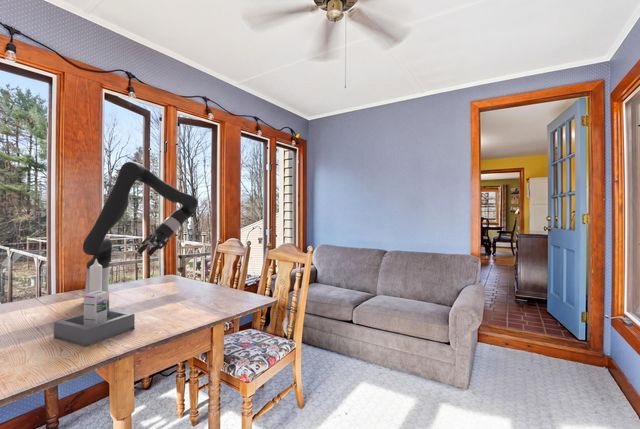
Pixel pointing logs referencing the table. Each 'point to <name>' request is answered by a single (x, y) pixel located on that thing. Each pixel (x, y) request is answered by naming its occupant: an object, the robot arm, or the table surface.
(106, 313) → the syrup box
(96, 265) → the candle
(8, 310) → the table surface
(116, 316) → the box
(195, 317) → the table surface
